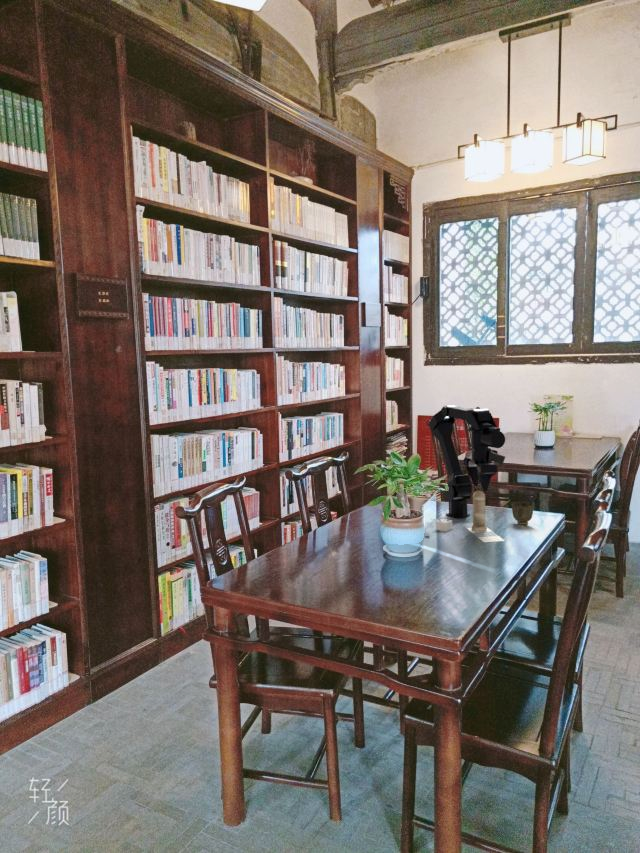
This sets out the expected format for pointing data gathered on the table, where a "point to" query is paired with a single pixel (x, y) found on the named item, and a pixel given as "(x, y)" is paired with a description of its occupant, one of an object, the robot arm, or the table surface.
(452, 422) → the robot arm
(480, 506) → the round-topped post
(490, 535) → the board
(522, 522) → the cup
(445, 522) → the die
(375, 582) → the table surface
